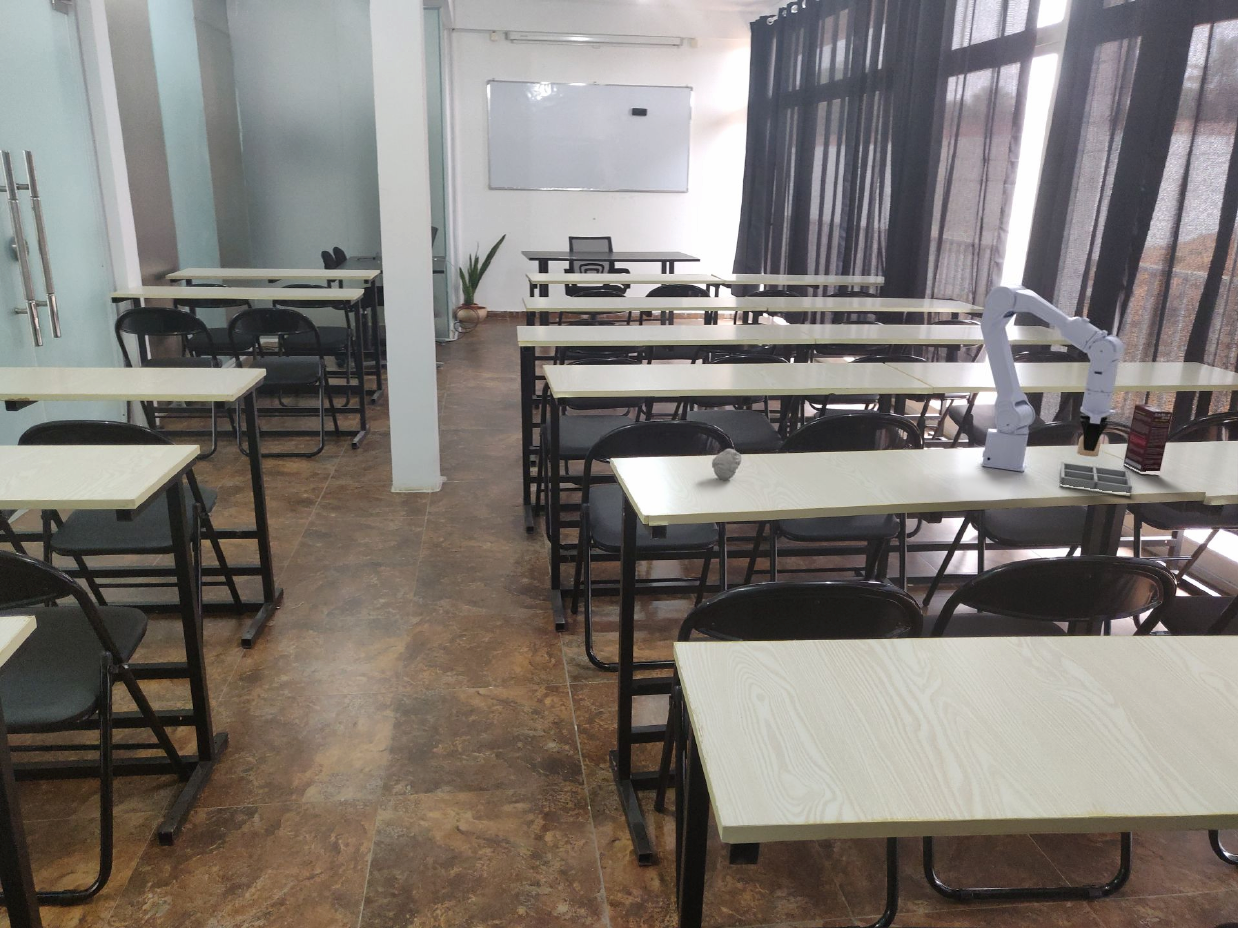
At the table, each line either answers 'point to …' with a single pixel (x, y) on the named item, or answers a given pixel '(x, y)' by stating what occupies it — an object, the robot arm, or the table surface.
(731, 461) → the grey rounded lump
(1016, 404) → the robot arm
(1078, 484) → the gray divided compartment tray
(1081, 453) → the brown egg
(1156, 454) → the supplement box
